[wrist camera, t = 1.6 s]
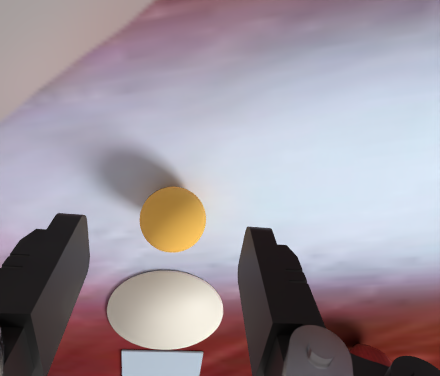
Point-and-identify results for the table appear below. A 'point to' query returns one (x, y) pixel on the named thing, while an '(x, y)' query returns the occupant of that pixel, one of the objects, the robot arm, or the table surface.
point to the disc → (165, 310)
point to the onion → (370, 354)
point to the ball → (172, 219)
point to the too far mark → (161, 363)
